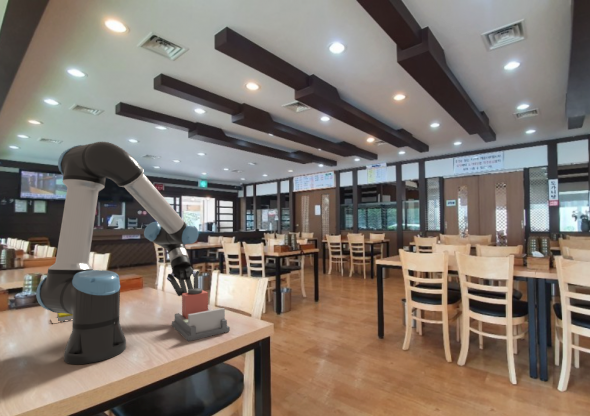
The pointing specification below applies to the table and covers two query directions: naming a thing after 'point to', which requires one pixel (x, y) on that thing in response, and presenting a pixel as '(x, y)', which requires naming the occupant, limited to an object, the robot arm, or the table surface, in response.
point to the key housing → (201, 324)
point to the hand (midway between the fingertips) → (192, 308)
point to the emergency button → (64, 316)
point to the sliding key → (194, 301)
